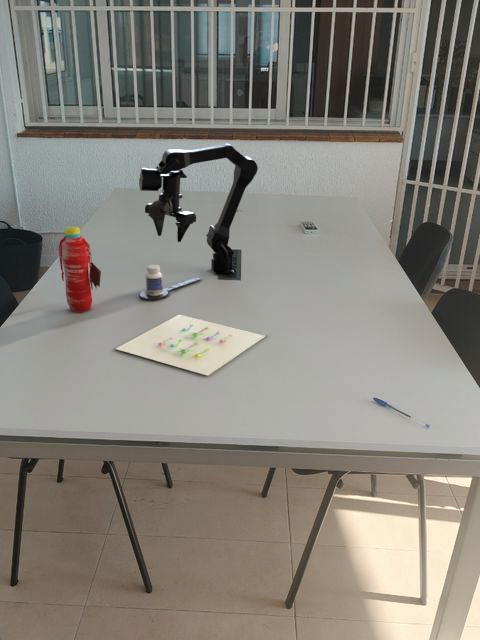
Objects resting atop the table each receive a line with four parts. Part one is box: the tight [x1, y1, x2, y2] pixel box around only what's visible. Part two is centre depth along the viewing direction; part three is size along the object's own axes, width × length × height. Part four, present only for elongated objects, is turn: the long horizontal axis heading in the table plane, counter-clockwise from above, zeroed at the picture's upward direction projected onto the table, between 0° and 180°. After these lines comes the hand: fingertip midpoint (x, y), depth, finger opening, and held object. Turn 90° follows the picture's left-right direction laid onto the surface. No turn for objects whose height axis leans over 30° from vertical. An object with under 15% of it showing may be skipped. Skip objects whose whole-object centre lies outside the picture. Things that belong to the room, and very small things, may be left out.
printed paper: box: [115, 314, 266, 377], centre depth 194 cm, size 30×30×2 cm
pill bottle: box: [145, 264, 164, 296], centre depth 224 cm, size 5×5×9 cm
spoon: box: [139, 277, 201, 302], centre depth 232 cm, size 26×8×1 cm, turn 139°
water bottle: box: [58, 226, 102, 313], centre depth 210 cm, size 12×8×25 cm, turn 94°
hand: (169, 238), depth 237 cm, fingers open, 9 cm apart
